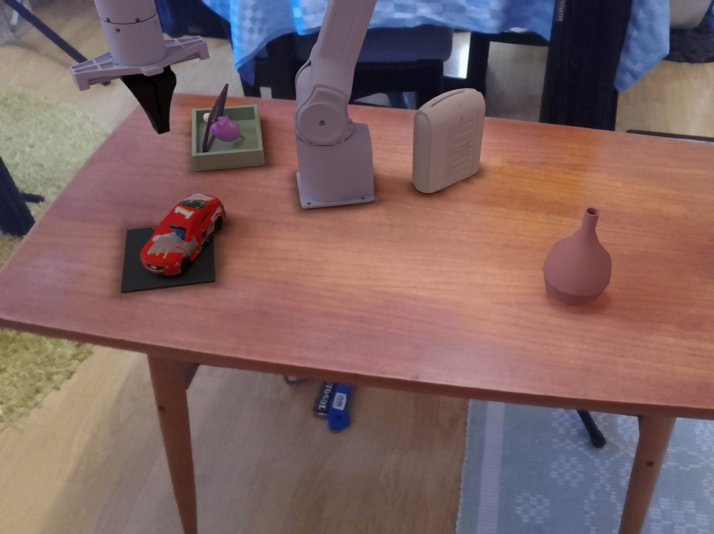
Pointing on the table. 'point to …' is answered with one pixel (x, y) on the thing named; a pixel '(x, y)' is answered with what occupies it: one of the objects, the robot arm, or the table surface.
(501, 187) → the table surface
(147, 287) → the charcoal mat
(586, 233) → the brown bulb vase
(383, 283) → the table surface
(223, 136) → the purple finned figure
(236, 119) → the sage tray
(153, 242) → the race car
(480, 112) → the photo printer
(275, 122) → the table surface
